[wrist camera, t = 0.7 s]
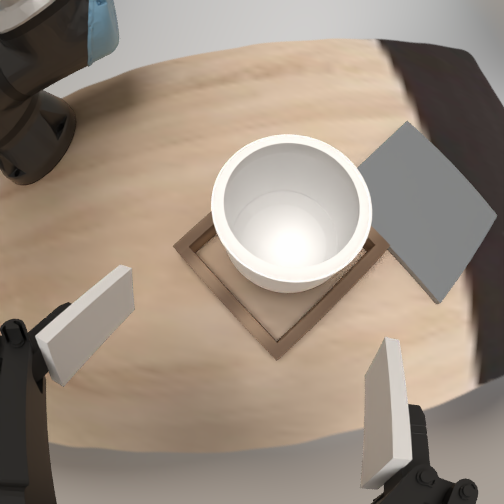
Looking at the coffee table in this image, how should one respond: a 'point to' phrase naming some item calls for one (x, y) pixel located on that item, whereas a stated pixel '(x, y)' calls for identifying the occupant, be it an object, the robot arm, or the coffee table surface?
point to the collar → (188, 250)
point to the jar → (290, 212)
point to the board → (425, 209)
